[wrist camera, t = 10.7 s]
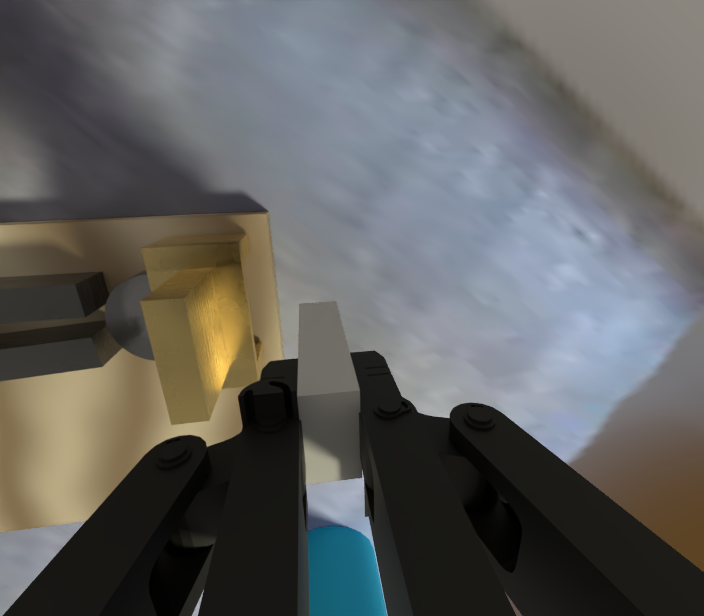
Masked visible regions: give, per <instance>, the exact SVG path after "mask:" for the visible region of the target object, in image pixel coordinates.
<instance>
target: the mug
mask: <svg viewBox="0 0 704 616" xmlns="http://www.w3.org/2000/svg"><path fill="white" fill-rule="evenodd" d="M308 560H309V615H310V616H387V614H386V609H385V604H384V599H383V594H382V589H381V584H380V579H379V574H378V569H377V564H376V559H375V554H374V549H373V547H372V545H371V543H370V541H369V539H368V538H366V537H365V536H364V535H363V534H362V533H361V532H358V531H356V530H353V529H351V528H348V527H339V526H328V527H321V528H316V529H313V530H310V531H308Z"/></svg>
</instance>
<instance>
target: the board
mask: <svg viewBox="0 0 704 616" xmlns="http://www.w3.org/2000/svg"><path fill="white" fill-rule="evenodd" d="M236 233H248V237H249V245H250V254H249V255H248V257H247V258H246V260H245V261H244V270H245V277H246V284H247V291H248V299H249V306H250V313H251V320H252V327H253V334H254V342H261V341H262V344H263V352H264V360H263V365H262V369H263V368H264V367H265V366H266V365H267V364H268V363H269V362H270V361H276V360H285V359H284V350H283V341H282V332H281V323H280V313H279V304H278V295H277V286H276V277H275V267H274V258H273V249H272V240H271V231H270V221H269V212H268V211H262V212H239V213H215V214H192V215H169V216H145V217H122V218H98V219H75V220H51V221H28V222H4V223H0V277H16V276H32V275H49V274H66V273H83V272H100V271H103V275H104V278H105V282H106V285H107V289H108V292H109V295H110V294H111V292H112V291H113V290H114V289H115V288H116V287H117V286H118V285H119V284H121V283H122V282H124V281H126V280H128V279H129V278H131V277H133V276H134V275H136V274H138V273H139V272H141V271H143V270H145V269H146V268H145V264H144V260H143V255H142V251H141V248H143V247H145V246H147V245H149V244H152V243H154V242H156V241H158V240H161V239H163V238H165V237H175V236H196V235H216V234H236ZM105 305H106V304H105ZM105 305H104V306H102V307H101V308H99V309H98V310H96V311H94V312H93V313H91V314H90V315H88V316H87V317H84V318H71V319H57V320H44V321H30V322H16V323H3V324H0V334H2V333H9V332H17V331H25V330H33V329H40V328H48V327H56V326H63V325H71V324H79V323H87V322H94V321H102V320H105ZM261 372H262V370H261ZM260 377H261V375H260ZM244 388H245V387H239V388H229V389H221V391H220V394H219V397H218V399H217V402H216V405H215V407H214V410H213V413H212V415H211V418H210V421H204V422H195V423H186V424H177V425H171V422H170V418H169V414H168V410H167V406H166V402H165V398H164V394H163V390H162V386H161V382H160V378H159V374H158V370H157V367H156V363H155V361H152V360H147V359H143V358H140V357H138V356H135V355H133V354H131V353H130V352H128V351H126V350H125V349H124V348H122V349H121V350H120V351H119V352H118V353H117V354H116V355H115V356H113V357H112V358H111V359H110V360H109V361H108V362H107V363H106V364H105V365H104V366H103V367H99V368H92V369H85V370H78V371H71V372H64V373H57V374H50V375H43V376H36V377H29V378H22V379H15V380H8V381H1V382H0V533H1V532H8V531H15V530H23V529H30V528H37V527H44V526H52V525H59V524H66V523H74V522H81V521H87V520H88V519H89V517H90V516H91V515H92V514H93V513H94V512H95V511H96V510H97V508H98V507H99V506H100V505H101V504H102V503H103V502H104V500H105V499H106V498H107V497H108V496H109V495H110V494H111V493H112V491H113V490H114V489H115V488H116V487H117V486H118V485H119V483H120V482H121V481H122V480H123V479H124V478H125V477H126V476H127V474H128V473H129V472H130V471H131V470H132V469H133V468H134V467H135V465H136V464H137V463H138V462H139V461H140V460H141V459H142V457H143V456H144V455H145V454H146V453H147V452H149V451H150V450H151V449H152V448H153V447H154V446H156V445H158V444H159V443H161V442H163V441H165V440H167V439H170V438H173V437H177V436H181V435H194V436H199V437H201V438H202V439H203V440H204V441H206V445H207V446H211V445H214V444H217V443H220V442H223V441H225V440H228V439H230V438H232V437H234V436H236V435H237V434H239V433H240V432H242V427H243V425H242V419H241V414H240V408H239V402H238V395H239V394H240V392H241V391H242V390H243V389H244Z"/></svg>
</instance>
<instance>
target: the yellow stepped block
mask: <svg viewBox="0 0 704 616" xmlns="http://www.w3.org/2000/svg"><path fill="white" fill-rule="evenodd" d="M141 251H142V255H143V260H144V264H145V268H146V272H147V276H148V281H149V285H150V289H151V293H150V294H149V295H147V296H146V297H145V298H144V299H142V300H141V301H140V303H141V307H142V311H143V315H144V319H145V323H146V327H147V331H148V335H149V339H150V343H151V347H152V351H153V355H154V359H155V363H156V367H157V370H158V374H159V378H160V382H161V386H162V390H163V394H164V398H165V402H166V406H167V410H168V414H169V418H170V422H171V425H177V424H186V423H195V422H204V421H210V418H211V415H212V413H213V410H214V407H215V405H216V402H217V399H218V397H219V394H220V391H221V389H229V388H239V387H247V386H248V385H250V384H252V383H254V382H257V381H259V380H260V375H261V370H262V365H263V360H264V352H263V344H262V341H261V342H254V334H253V327H252V320H251V313H250V306H249V299H248V291H247V284H246V277H245V270H244V261H245V260H246V258H247V257H248V255H249V254H250V245H249V237H248V233H236V234H216V235H196V236H175V237H165V238H163V239H161V240H158V241H156V242H154V243H152V244H149V245H147V246H145V247H143V248H141Z"/></svg>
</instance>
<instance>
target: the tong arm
mask: <svg viewBox="0 0 704 616" xmlns="http://www.w3.org/2000/svg"><path fill="white" fill-rule="evenodd" d="M121 349H122V347H121V346H120V345H119V344H118V343H117V342H116V341H115V340H114V338H113V337H112V335H111V334H110V332H109V330H108V328H107V325H106V321H105V320H102V321H94V322H87V323H79V324H71V325H63V326H56V327H48V328H40V329H33V330H25V331H17V332H9V333H2V334H0V382H1V381H8V380H15V379H22V378H29V377H36V376H43V375H50V374H57V373H64V372H71V371H78V370H85V369H92V368H99V367H103V366H104V365H105V364H106V363H107V362H108V361H109V360H110V359H111V358H112V357H113V356H115V355H116V354H117V353H118V352H119V351H120V350H121Z"/></svg>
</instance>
